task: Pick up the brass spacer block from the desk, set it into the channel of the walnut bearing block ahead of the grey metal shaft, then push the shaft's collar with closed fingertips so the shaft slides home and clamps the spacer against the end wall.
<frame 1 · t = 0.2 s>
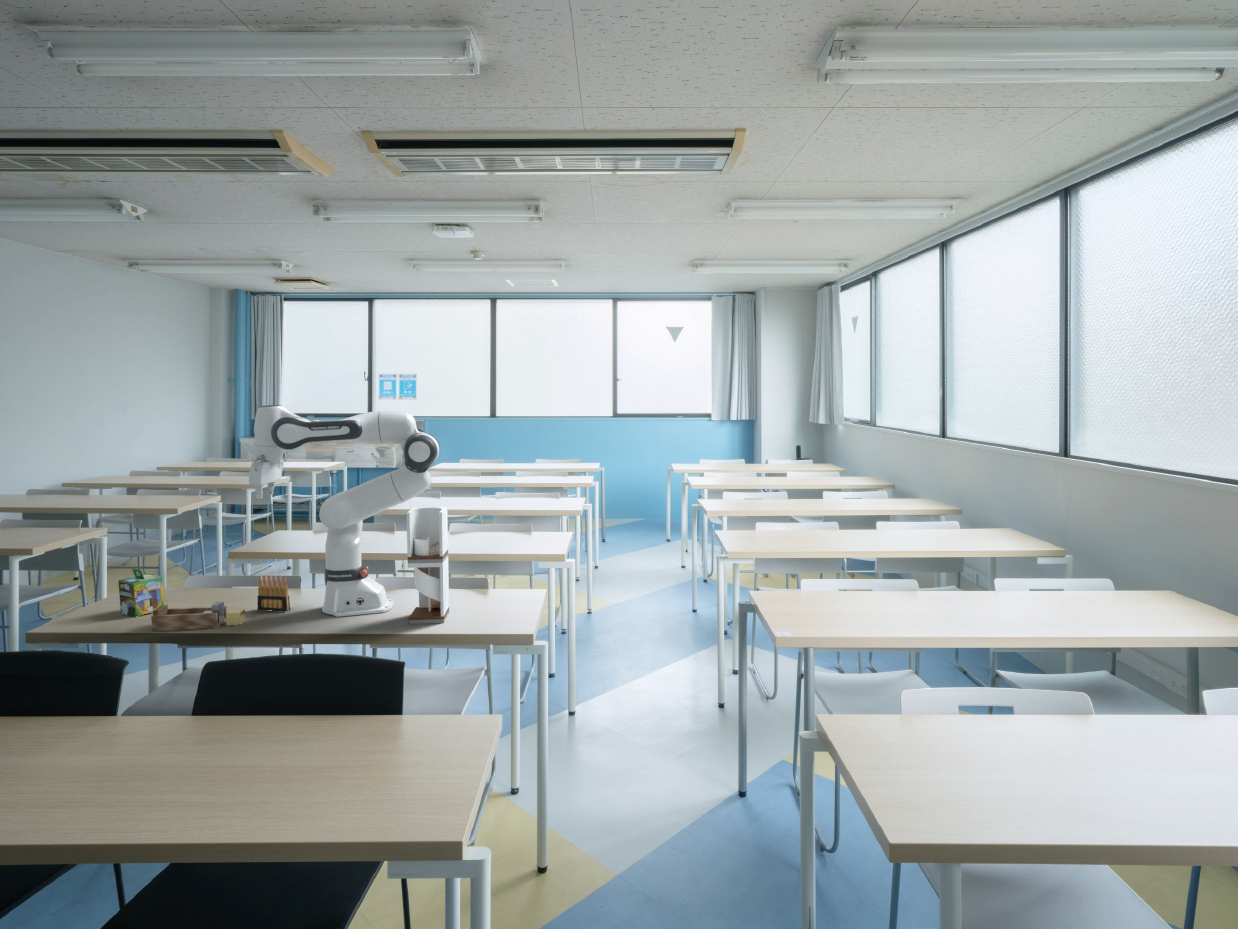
hand: (264, 496, 221), 38 cm above the table, tool pointing down, fingers open, 8 cm apart
spiral staircase model: (429, 618, 218), on the table
ammunition clip: (273, 611, 226), on the table
shaft: (212, 612, 211), point 4 cm above the table, slide at 0.0 cm
chalk box: (142, 612, 224), on the table
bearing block: (190, 625, 210), on the table
spacer: (236, 623, 212), on the table
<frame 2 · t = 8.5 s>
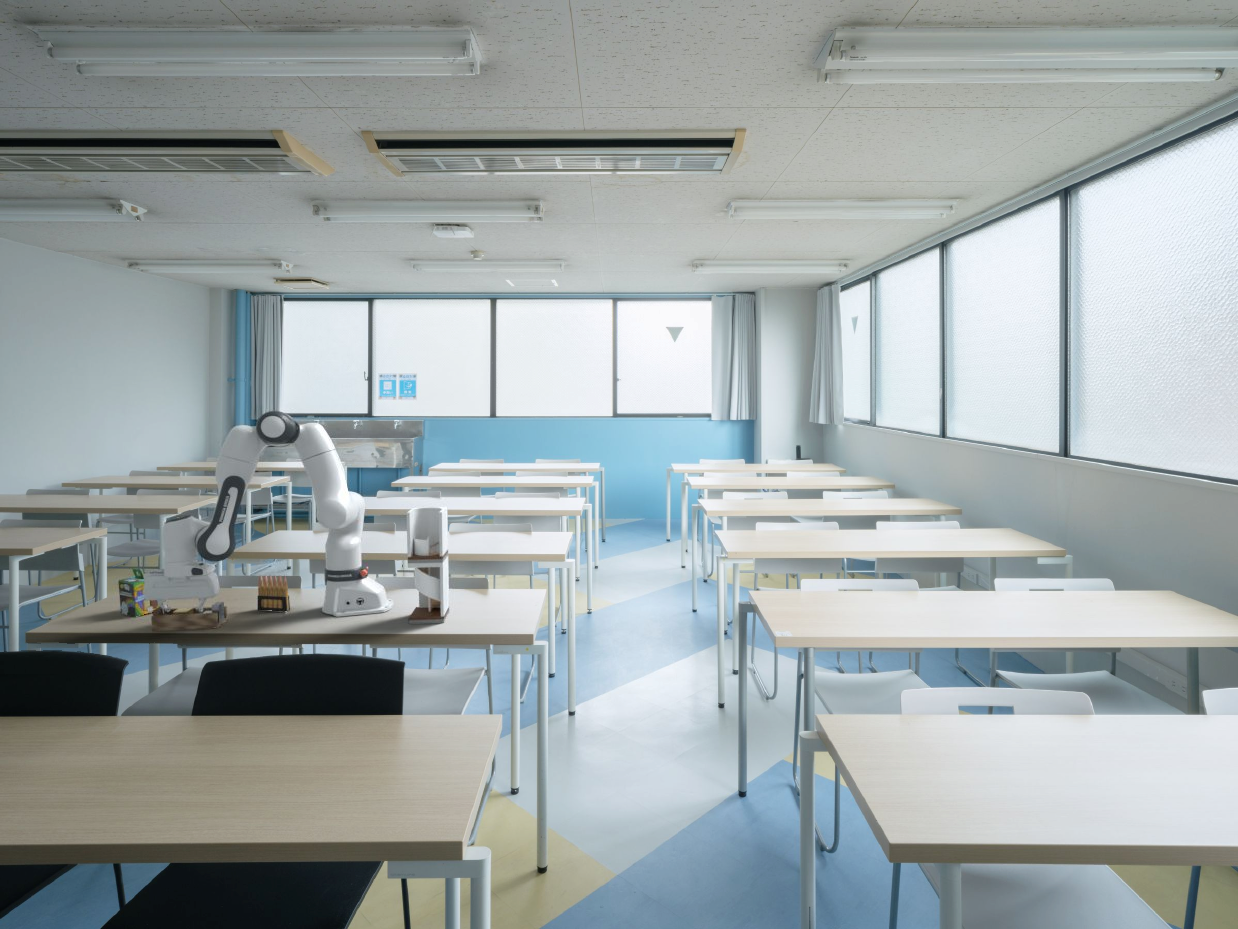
hand: (183, 612, 209), 4 cm above the table, tool pointing down, fingers open, 8 cm apart
spacer: (183, 622, 210), point 1 cm above the table, touching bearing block
everything else where it was.
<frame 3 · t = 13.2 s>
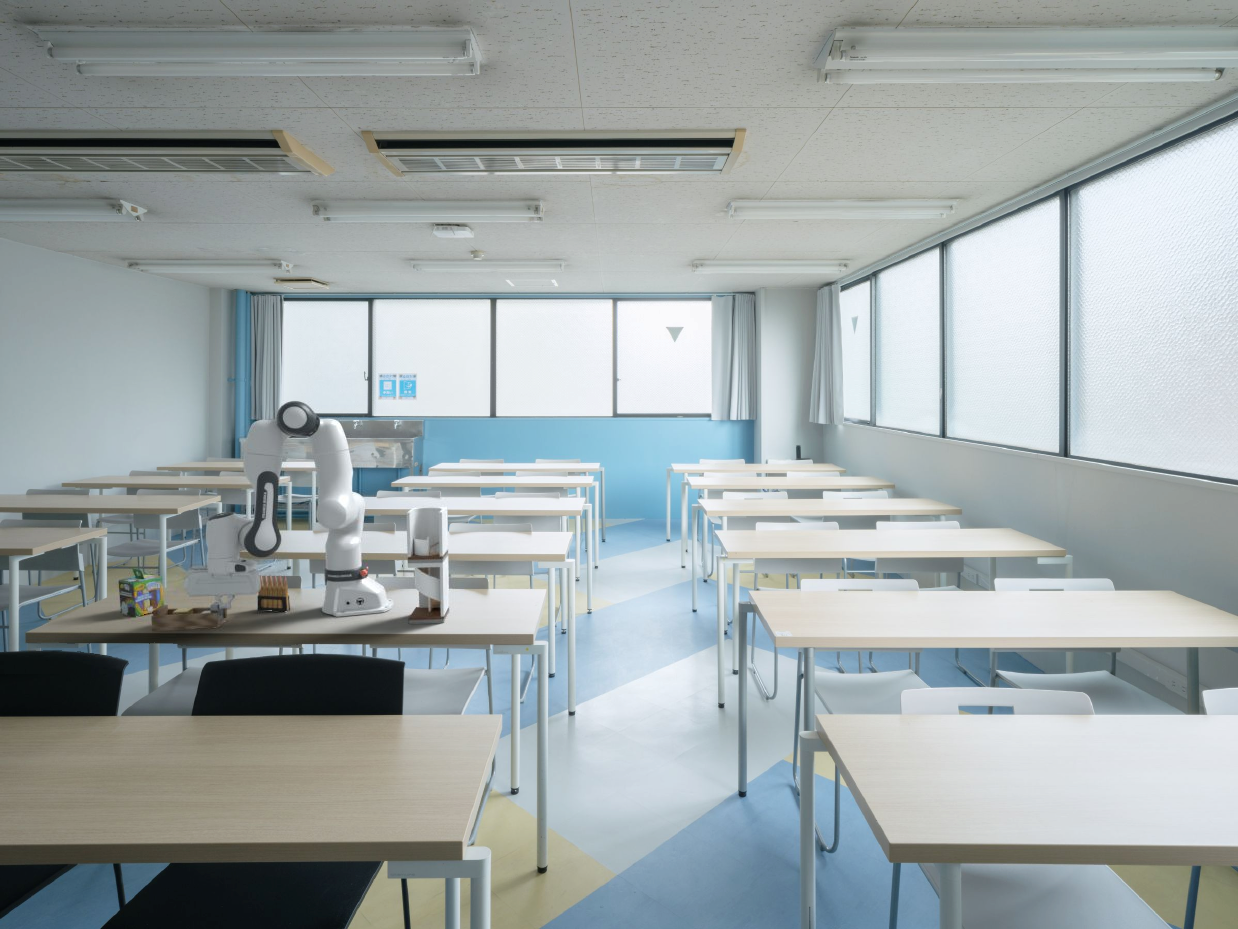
hand: (225, 609, 211), 5 cm above the table, tool pointing down, fingers closed
shaft: (211, 612, 211), point 4 cm above the table, slide at 0.4 cm, touching gripper
everything else where it was.
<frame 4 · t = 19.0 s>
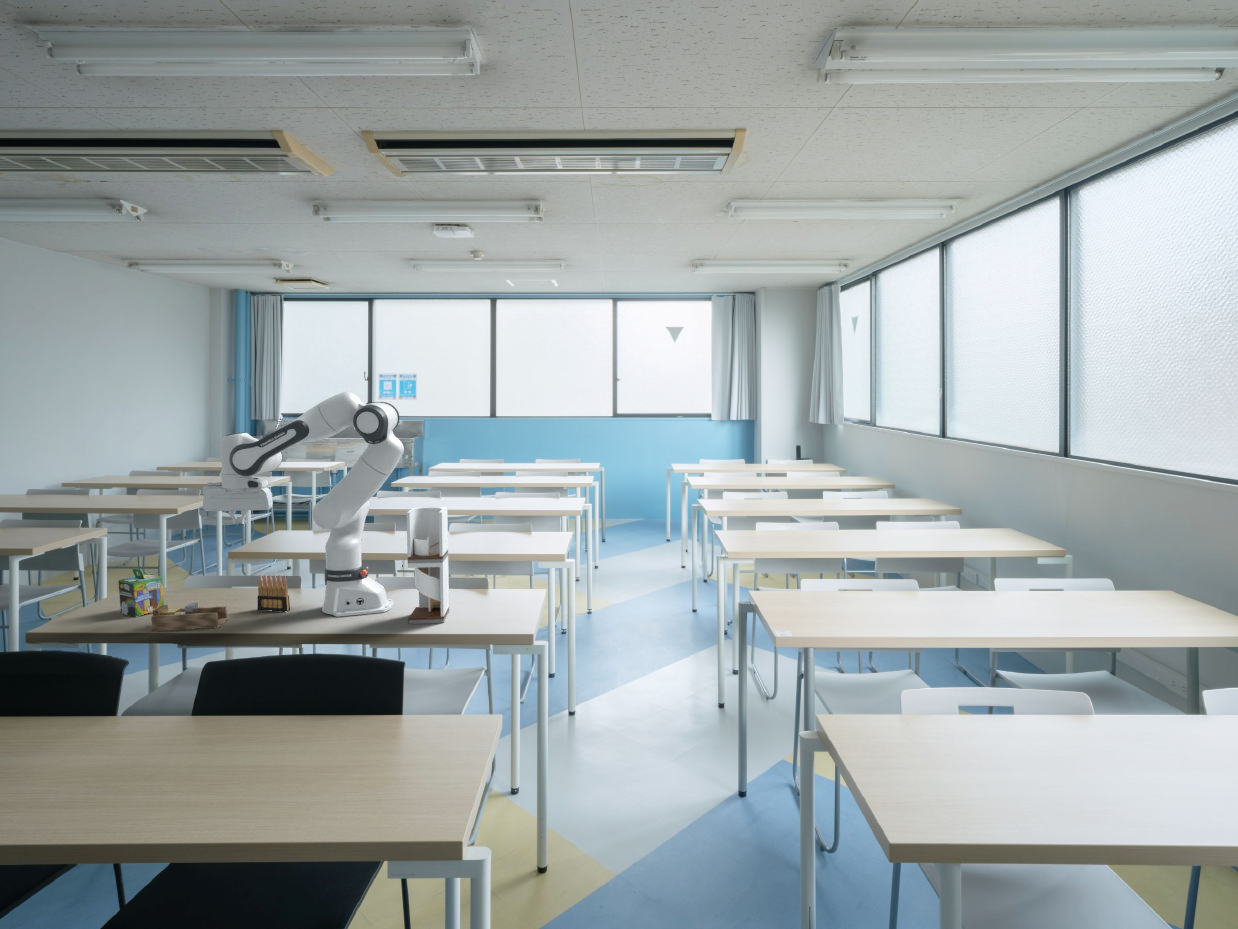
hand: (238, 524, 223), 29 cm above the table, tool pointing down, fingers closed
shaft: (186, 613, 210), point 4 cm above the table, slide at 7.5 cm, touching spacer
spacer: (171, 623, 209), point 1 cm above the table, touching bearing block, shaft
everything else where it was.
at the end: spacer 1.0 cm from the target spot on the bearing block, point 1.0 cm above the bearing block's base; shaft slide at 7.5 cm; the gripper is holding nothing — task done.
